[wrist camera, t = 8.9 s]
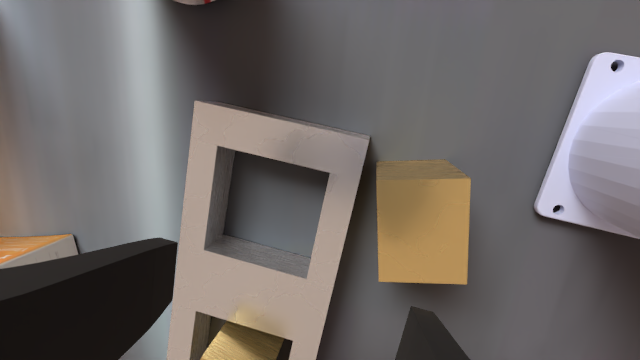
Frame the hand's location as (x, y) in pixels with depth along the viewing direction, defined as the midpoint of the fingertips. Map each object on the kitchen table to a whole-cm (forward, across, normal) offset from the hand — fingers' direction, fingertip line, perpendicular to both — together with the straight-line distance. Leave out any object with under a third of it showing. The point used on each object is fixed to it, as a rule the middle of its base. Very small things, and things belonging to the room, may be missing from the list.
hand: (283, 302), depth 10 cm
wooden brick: (+10, -4, -1) cm, 11 cm away
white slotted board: (+10, +3, +6) cm, 12 cm away
